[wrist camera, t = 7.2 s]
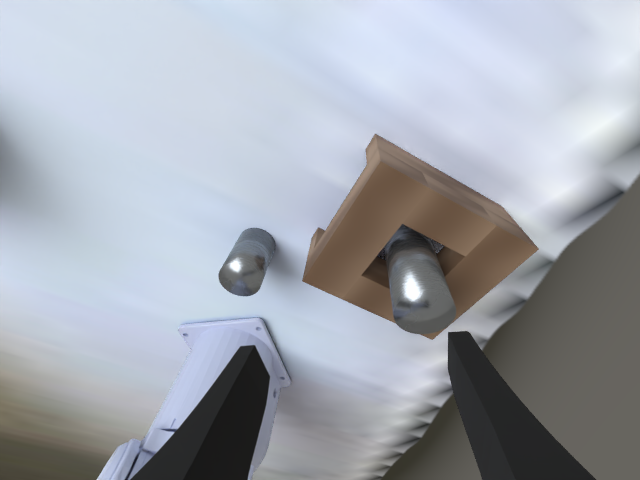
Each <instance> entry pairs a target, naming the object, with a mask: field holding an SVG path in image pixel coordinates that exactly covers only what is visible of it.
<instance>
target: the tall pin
mask: <svg viewBox="0 0 640 480" xmlns="http://www.w3.org/2000/svg"><path fill="white" fill-rule="evenodd" d="M384 250H385V257H386V264H387V272H388V279H389V287H390V294H391V301H392V309H393V316H394V320H395V322H396V324H397V325H398V326H399V327H400V328H402V329H403V330H405V331H408V332H410V333H415V334H430V333H435V332H438V331H440V330H443V329H444V328H446V327H447V326H449V325H450V324H451V323H452V321H453V320H454V318H455V316H456V306H455V304H454V301H453V298H452V296H451V293H450V290H449V287H448V285H447V282H446V279H445V277H444V274H443V271H442V268H441V266H440V263H439V260H438V257H437V255H436V252H435V249H434V247H433V244H432V241H431V238H429V237H427V236H425V235H423V234H421V233H419V232H417V231H415V230H413V229H412V228H410V227H408V226H406V225H404V224H402V225H401V226H400V227H399V229H398V230H397V231H396V232H395V234H394V235H393V236H392V237H391V239H390V240H389V241H388V242H387V244H386V245H385V246H384Z"/></svg>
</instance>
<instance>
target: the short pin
mask: <svg viewBox="0 0 640 480" xmlns="http://www.w3.org/2000/svg"><path fill="white" fill-rule="evenodd" d="M274 250H275V241H274V239H273V237H272V236H271V235H270V234H269V233H268V232H266V231H264V230H262V229H259V228H250V229H247V230H245V231H243V232H242V234H241V235H240V237H239V239H238V240H237V242H236V244H235V246H234V247H233V249H232V251H231V252H230V254H229V256H228V258H227V259H226V261H225V263H224V264H223V266H222V268H221V270H220V272H219V281H220V283H221V285H222V286H223V287H224V288H225V289H226V290H227V291H229V292H230V293H232V294H235V295H238V296H250V295H253V294H255V293H256V292H258V290H259V289H260V287H261V284H262V281H263V279H264V276H265V273H266V271H267V268H268V266H269V263H270V260H271V258H272V255H273V253H274Z"/></svg>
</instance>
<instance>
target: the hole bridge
mask: <svg viewBox="0 0 640 480" xmlns="http://www.w3.org/2000/svg"><path fill="white" fill-rule="evenodd" d="M366 159H367V165H366V167H365V169H364V170H363V172H362V173H361V175H360V177H359V178H358V180H357V181H356V183H355V185H354V186H353V188H352V189H351V191H350V192H349V194H348V196H347V197H346V199H345V200H344V202H343V204H342V205H341V207H340V208H339V210H338V212H337V213H336V215H335V216H334V218H333V219H332V221H331V223H330V224H329V226H328V227H327V229H326V231H324V230H322V229H320V228H318V229H317V230H316V232H315V234H314V235H313V237H312V239H311V244H310V248H309V253H308V257H307V262H306V267H305V271H304V276H303V280H302V281H303V282H305V283H307V284H309V285H312V286H314V287H316V288H318V289H321V290H323V291H325V292H327V293H329V294H332V295H334V296H336V297H338V298H341V299H343V300H345V301H347V302H349V303H352V304H354V305H356V306H358V307H361V308H363V309H365V310H367V311H369V312H372V313H374V314H376V315H378V316H381V317H383V318H385V319H387V320H389V321H392V322H394V323H396V322H395V320H394V316H393V309H392V301H391V294H390V287H389V279H388V272H387V264H386V260H383V259H381V258H379V257H377V255H378V254H379V252H380V251H381V250H382V249H383V247H384V246H385V245H386V244H387V242H388V241H389V240H390V239H391V237H392V236H393V235H394V234H395V232H396V231H397V230H398V229H399V227H400V226H401V225H402V224H404V225H406V226H408V227H410V228H412V229H413V230H415V231H417V232H419V233H421V234H423V235H425V236H427V237H429V238H431V239H433V240H435V241H436V242H438V243H440V244H442V245H444V247H443V249H442V250H441V251H440V252H439V253H438V254H437V257H438V260H439V263H440V266H441V268H442V271H443V274H444V277H445V279H446V282H447V285H448V287H449V290H450V293H451V296H452V298H453V301H454V304H455V306H456V316H455V318H454V320H453V321H452V323H453V322H454V321H455V320H456V319H457V318H459V317H460V316H461V315H462V314H463V313H464V312H466V311H467V310H468V309H469V308H470V307H471V306H473V305H474V304H475V303H476V302H477V301H478V300H480V299H481V298H482V297H483V296H484V295H486V294H487V293H488V292H489V291H490V290H491V289H493V288H494V287H495V286H496V285H497V284H498V283H500V282H501V281H502V280H503V279H504V278H505V277H507V276H508V275H509V274H510V273H511V272H513V271H514V270H515V269H516V268H517V267H518V266H520V265H521V264H522V263H523V262H524V261H525V260H527V259H528V258H529V257H530V256H531V255H532V254H534V253H535V252H536V251H537V250H538V248H537V246H536V245H535V244H534V243H533V242H532V241H531V239H530V238H529V237H528V236H527V235H526V234H525V232H524V231H523V230H522V229H521V228H520V227H519V225H518V224H517V223H516V222H515V221H514V220H513V218H512V217H511V216H510V215H509V214H508V213H507V211H506V210H505V209H504V208H503V207H502V206H500V205H499V204H497V203H495V202H493V201H492V200H490V199H488V198H486V197H485V196H483V195H481V194H479V193H478V192H476V191H474V190H473V189H471V188H469V187H467V186H466V185H464V184H462V183H460V182H459V181H457V180H455V179H453V178H452V177H450V176H448V175H446V174H445V173H443V172H441V171H439V170H438V169H436V168H434V167H432V166H431V165H429V164H427V163H425V162H424V161H422V160H420V159H418V158H417V157H415V156H413V155H411V154H410V153H408V152H406V151H404V150H403V149H401V148H399V147H397V146H396V145H394V144H392V143H390V142H389V141H387V140H385V139H383V138H382V137H380V136H378V135H377V134H375V135H374V137H373V138H372V140H371V142H370V143H369V145H368V147H367V148H366ZM447 327H448V326H447ZM447 327H446V328H447ZM446 328H444V329H446ZM444 329H443V330H444ZM443 330H440V331H438V332H435V333H430V334H421V335H423V336H425V337H427V338H429V339H432V340H433V339H434V338H435V337H436V336H437V335H439V334H440V333H441V332H442V331H443Z"/></svg>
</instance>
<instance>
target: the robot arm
mask: <svg viewBox="0 0 640 480" xmlns="http://www.w3.org/2000/svg"><path fill="white" fill-rule="evenodd" d="M178 331H179V333H180V334H181V336H182V337H183V339H184V340H185V342H186V343H187V345H188V346H189V348H190V349H191V351H190V353H189V355H188V357H187V359H186V361H185V363H184V364H183V366H182V368H181V370H180V372H179V374H178V376H177V378H176V380H175V382H174V383H173V385H172V387H171V389H170V391H169V393H168V395H167V397H166V399H165V401H164V403H163V404H162V406H161V408H160V410H159V412H158V414H157V416H156V418H155V420H154V422H153V424H152V425H151V427H150V429H149V431H148V433H147V435H146V436H145V437H144V439H143V440H142V441H139V440H136V439H131V440H130V441H129V442H128V443H124V444H122V445H120V446H119V447H118V448H117V449H116V450H115V452H114V453H113V455H112V456H111V458H110V459H109V461H108V462H107V464H106V466H105V467H104V469H103V470H102V472H101V474H100V475H99V477H98V478H97V480H251V479H252V475H253V473H254V471H255V470H256V469H257V468H258V467H259V465H260V464H261V462H262V460H263V459H264V457H265V455H266V452H267V449H268V446H269V441H270V436H271V432H272V427H273V422H274V418H275V413H276V408H277V403H278V399H279V394H280V389H281V387H288V386H290V384H291V380H290V378H289V376H288V374H287V372H286V369H285V367H284V365H283V363H282V361H281V359H280V356H279V354H278V352H277V350H276V348H275V345H274V343H273V341H272V339H271V337H270V335H269V332H268V330H267V328H266V326H265V324H264V322H263V320H262V319H260V318H248V319H237V320H226V321H215V322H204V323H193V324H182V325H180V326H179V328H178ZM448 371H449V376H450V380H451V384H452V388H453V393H454V397H455V400H456V403H457V406H458V409H459V412H460V415H461V418H462V421H463V424H464V427H465V430H466V432H467V435H468V438H469V441H470V444H471V447H472V450H473V453H474V455H475V459H476V462H477V464H478V467H479V470H480V473H481V477H482V480H596V479H595V478H594V477H593V476H592V475H591V474H590V473H589V472H588V471H587V470H586V469H585V468H583V466H582V465H581V464H580V463H579V462H578V461H576V459H575V458H574V457H572V455H570V453H568V451H567V450H566V449H565V448H564V447H563V446H562V445H561V444H560V443H559V442H558V441H557V440H556V439H555V438H554V437H553V436H552V435H551V434H550V433H549V432H548V431H547V430H546V428H545V427H544V426H543V425H542V424H541V423H540V422H539V421H538V420H537V419H536V418H535V416H534V415H533V414H532V413H531V412H530V411H529V410H528V408H527V407H526V406H525V405H524V404H523V403H522V402H521V400H520V399H519V398H518V397H517V396H516V394H515V393H514V392H513V391H512V390H511V389H510V387H509V386H508V385H507V383H506V382H505V381H504V380H503V379H502V377H501V376H500V375H499V373H498V372H497V371H496V370H495V368H494V367H493V366H492V364H491V363H490V362H489V360H488V359H487V358H486V356H485V355H484V353H483V352H482V351H481V349H480V348H479V346H478V345H477V343H476V342H475V340H474V339H473V337H472V335H471V334H470V333H469V332H467V331H461V332H448Z"/></svg>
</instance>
